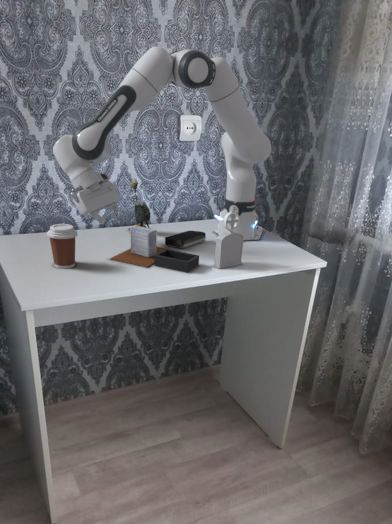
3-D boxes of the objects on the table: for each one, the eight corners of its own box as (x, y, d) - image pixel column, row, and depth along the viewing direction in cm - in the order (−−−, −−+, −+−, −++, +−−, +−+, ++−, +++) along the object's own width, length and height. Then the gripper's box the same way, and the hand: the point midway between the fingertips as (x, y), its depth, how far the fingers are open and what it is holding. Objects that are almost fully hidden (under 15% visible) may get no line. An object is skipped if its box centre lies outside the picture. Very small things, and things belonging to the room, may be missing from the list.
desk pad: (140, 244, 178) (140, 243, 177) (175, 251, 173) (175, 250, 173) (110, 259, 161) (110, 258, 161) (147, 267, 157) (147, 266, 157)
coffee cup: (47, 261, 157) (44, 223, 151) (76, 258, 160) (73, 222, 154) (52, 270, 150) (48, 231, 144) (82, 268, 153) (80, 229, 147)
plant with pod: (137, 237, 186) (137, 182, 176) (126, 229, 194) (125, 176, 185) (156, 235, 189) (157, 181, 180) (145, 227, 198) (145, 176, 188)
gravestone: (240, 264, 165) (246, 209, 156) (219, 268, 160) (223, 212, 151) (235, 261, 167) (240, 208, 158) (214, 266, 162) (218, 210, 153)
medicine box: (156, 255, 167) (157, 230, 163) (148, 258, 163) (148, 232, 159) (138, 250, 170) (138, 225, 166) (130, 253, 167) (130, 228, 163)
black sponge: (180, 251, 173) (181, 241, 172) (162, 246, 178) (162, 236, 176) (207, 242, 185) (208, 232, 183) (189, 237, 189) (190, 228, 188)
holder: (165, 258, 165) (166, 248, 164) (198, 265, 161) (199, 255, 160) (154, 265, 159) (154, 255, 157) (188, 272, 155) (188, 262, 153)
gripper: (74, 185, 155) (99, 223, 158) (110, 173, 171) (132, 208, 174) (62, 195, 159) (87, 232, 161) (98, 183, 175) (121, 217, 177)
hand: (111, 219), depth 168 cm, fingers open, 8 cm apart
